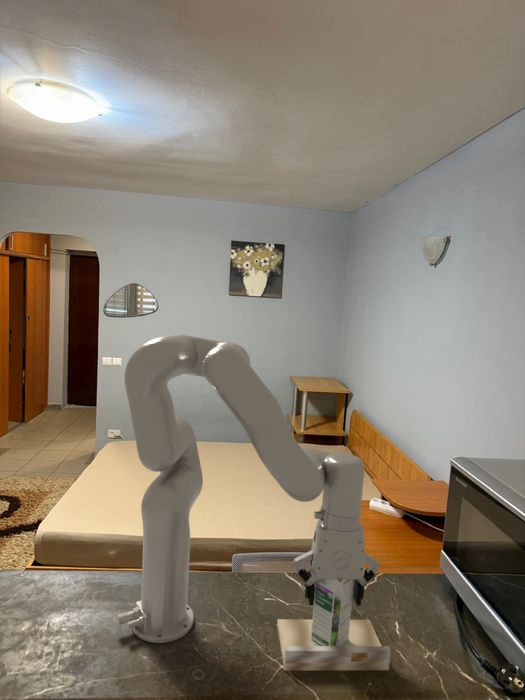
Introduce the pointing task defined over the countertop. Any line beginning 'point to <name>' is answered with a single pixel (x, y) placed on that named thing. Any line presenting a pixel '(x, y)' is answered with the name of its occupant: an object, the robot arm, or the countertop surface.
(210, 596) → the countertop surface
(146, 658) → the countertop surface
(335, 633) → the syrup box
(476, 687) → the countertop surface
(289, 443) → the robot arm
